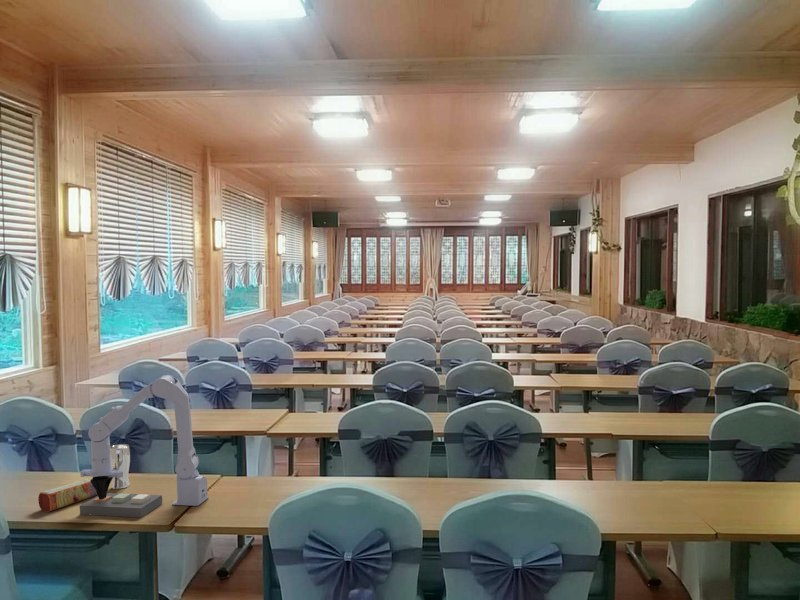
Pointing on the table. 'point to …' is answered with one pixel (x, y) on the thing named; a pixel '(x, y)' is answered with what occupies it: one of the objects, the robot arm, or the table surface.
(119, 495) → the sage button
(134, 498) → the off-white button
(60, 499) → the snack package
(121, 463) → the beer glass
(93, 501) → the terracotta button
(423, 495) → the table surface
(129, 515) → the button panel
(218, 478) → the table surface
